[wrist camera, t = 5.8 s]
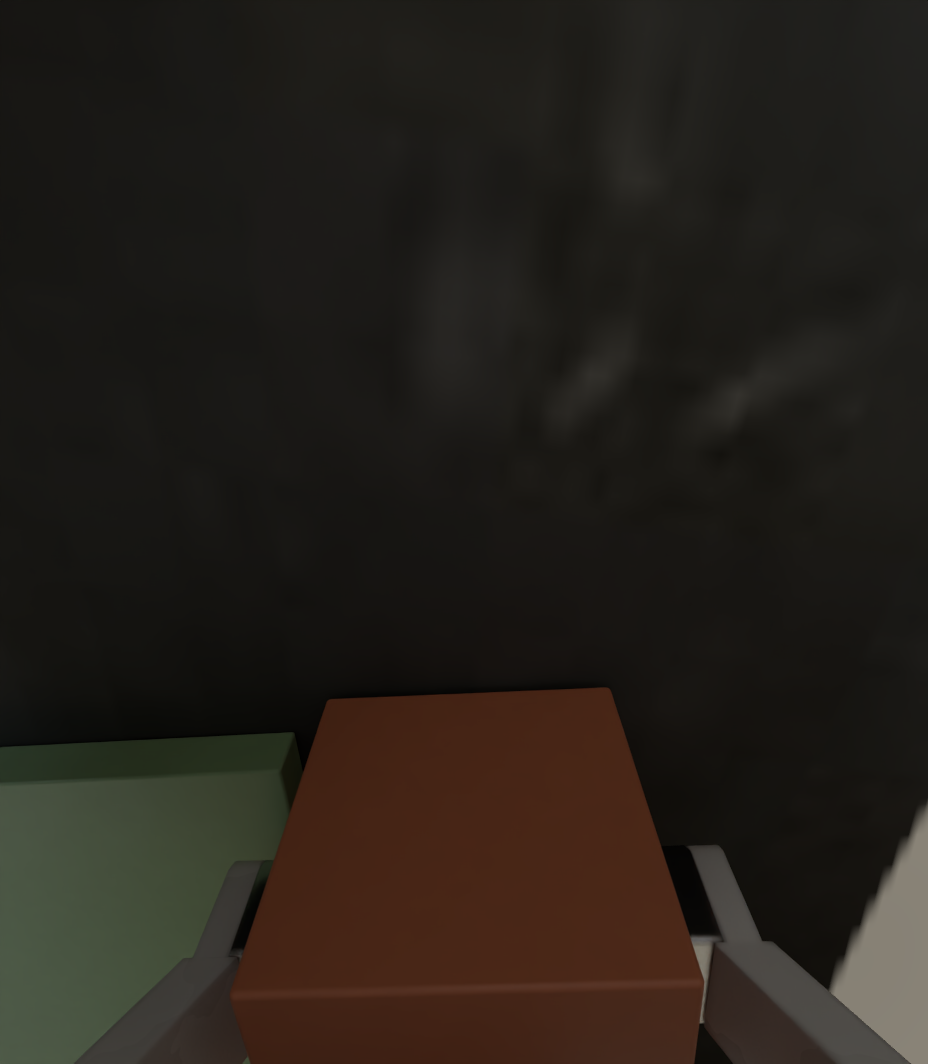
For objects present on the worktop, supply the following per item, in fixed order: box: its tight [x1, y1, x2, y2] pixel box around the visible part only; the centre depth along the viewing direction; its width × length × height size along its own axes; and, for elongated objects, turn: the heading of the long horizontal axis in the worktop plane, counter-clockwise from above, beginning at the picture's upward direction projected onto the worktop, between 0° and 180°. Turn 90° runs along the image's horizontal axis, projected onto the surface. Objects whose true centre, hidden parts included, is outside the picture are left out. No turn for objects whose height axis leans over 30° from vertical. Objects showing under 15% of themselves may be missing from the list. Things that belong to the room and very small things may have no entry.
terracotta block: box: [229, 687, 705, 1064], centre depth 10 cm, size 5×5×5 cm
